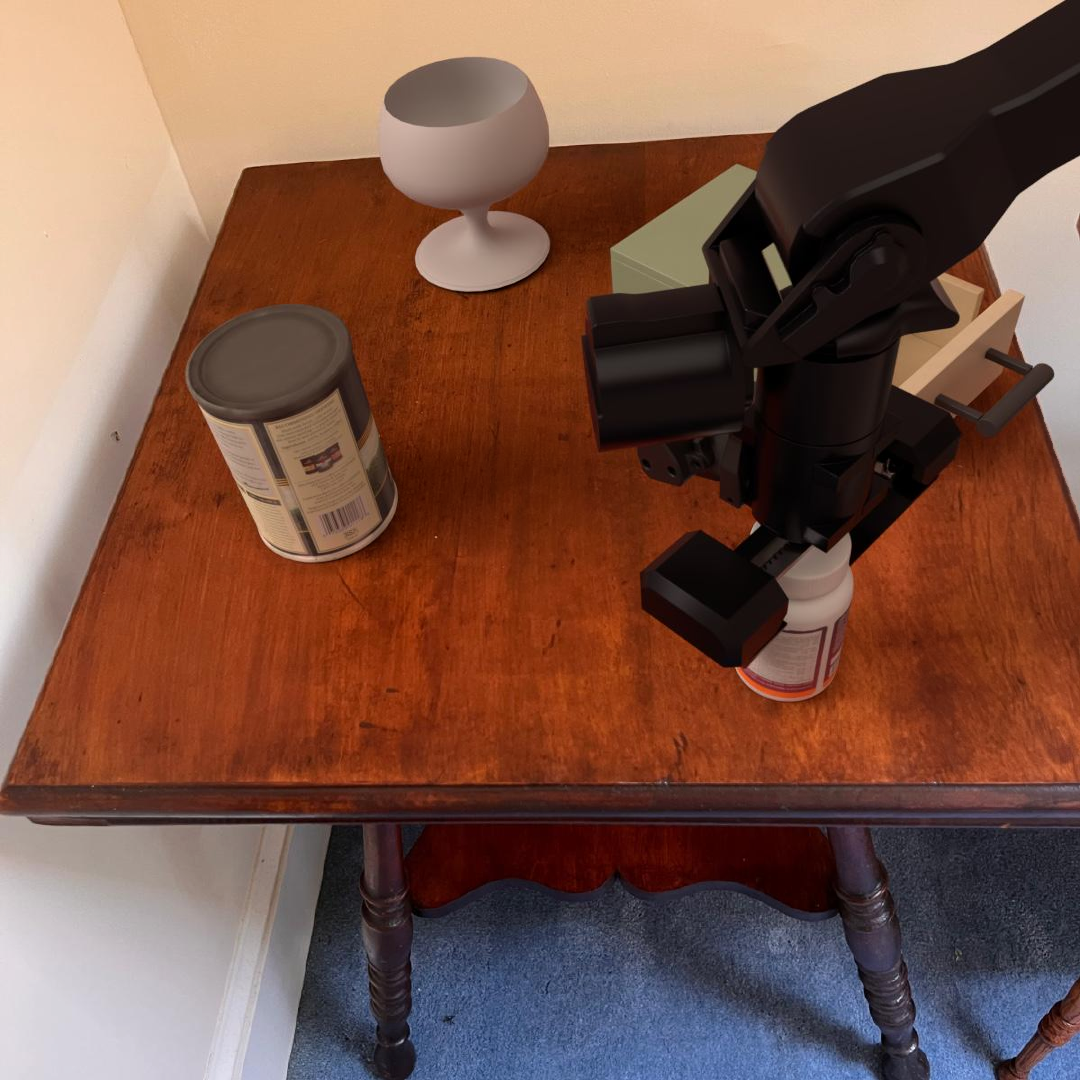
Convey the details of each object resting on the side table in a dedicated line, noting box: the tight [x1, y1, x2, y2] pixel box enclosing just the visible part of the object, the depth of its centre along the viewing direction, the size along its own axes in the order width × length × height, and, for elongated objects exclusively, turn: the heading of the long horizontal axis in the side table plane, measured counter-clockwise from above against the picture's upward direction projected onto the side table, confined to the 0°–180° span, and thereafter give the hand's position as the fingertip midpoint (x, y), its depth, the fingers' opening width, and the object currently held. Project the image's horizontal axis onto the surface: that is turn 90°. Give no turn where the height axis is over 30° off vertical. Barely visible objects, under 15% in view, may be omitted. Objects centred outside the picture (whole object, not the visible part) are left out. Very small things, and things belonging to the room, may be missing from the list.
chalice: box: [377, 56, 551, 292], centre depth 87 cm, size 14×14×15 cm
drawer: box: [892, 272, 1055, 439], centre depth 72 cm, size 18×13×7 cm
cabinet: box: [609, 163, 792, 381], centre depth 79 cm, size 15×15×9 cm
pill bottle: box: [734, 520, 855, 702], centre depth 57 cm, size 6×6×11 cm
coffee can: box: [184, 303, 399, 563], centre depth 69 cm, size 10×10×14 cm
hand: (791, 611), depth 58 cm, fingers open, 9 cm apart
